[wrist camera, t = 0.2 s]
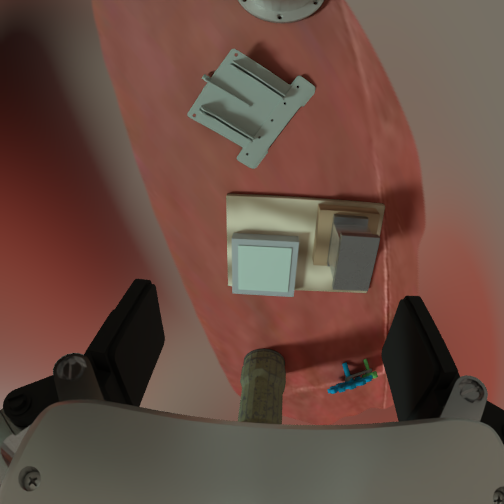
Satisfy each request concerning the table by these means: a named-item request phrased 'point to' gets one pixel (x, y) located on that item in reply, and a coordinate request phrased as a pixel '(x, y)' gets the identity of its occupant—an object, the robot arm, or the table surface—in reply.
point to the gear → (357, 381)
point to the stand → (325, 227)
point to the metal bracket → (249, 105)
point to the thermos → (262, 387)
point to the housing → (352, 252)
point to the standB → (264, 264)
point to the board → (287, 230)
